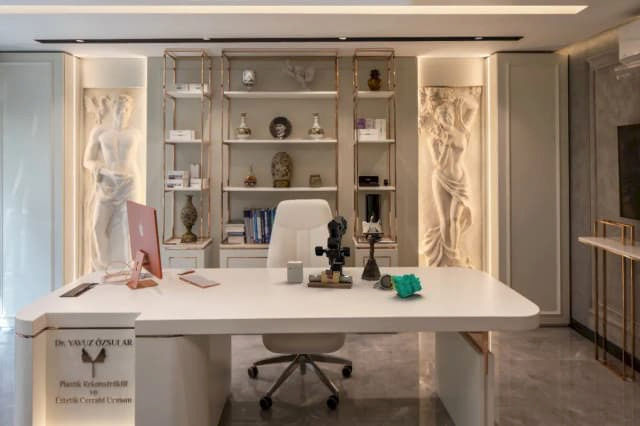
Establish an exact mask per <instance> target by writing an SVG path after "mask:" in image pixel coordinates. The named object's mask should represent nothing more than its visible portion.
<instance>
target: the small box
mask: <svg viewBox="0 0 640 426" xmlns="http://www.w3.org/2000/svg"><path fill="white" fill-rule="evenodd" d="M286 269H287V270H286V273H287V274H286V275H287V276H286V278H287V279H286V280H287V283H303V282H304V261H298V260H295V261H294V260H291V261H289V260H288V262H287V263H286Z"/></svg>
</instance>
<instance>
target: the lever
mask: <svg viewBox="0 0 640 426" xmlns="http://www.w3.org/2000/svg"><path fill="white" fill-rule="evenodd" d="M325 271H326V272H325V273H326V275H327V276H328V280H333V276H332V270H330V269H325Z"/></svg>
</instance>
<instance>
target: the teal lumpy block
mask: <svg viewBox="0 0 640 426" xmlns="http://www.w3.org/2000/svg"><path fill="white" fill-rule="evenodd" d="M391 283H392V286H393V287H392V288H393V289H394V290H395V292H396V293H397V294H399V296H400V297H401V298H402V297H403V298H406V297H409V296H408V295H410V296H411V295H413V294H415V293H417V292H421V291H422V290H423V287H422V285H421V281H420V277H418V276H415V273H410V274H404V275H402V276H401V275H396V274H395V275H394V274H393V275H391Z"/></svg>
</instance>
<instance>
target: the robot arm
mask: <svg viewBox="0 0 640 426" xmlns="http://www.w3.org/2000/svg"><path fill="white" fill-rule="evenodd" d="M348 226H349V224H348V220H347V219H345V217H344V215H335V216H334V218H333V219H331V220H330V221H329V222H328V223H327V231H328V234H329V236H328V237H327V239H326V240H327V241H326V242H327V243H326V247H325V248H324V246H322V245H321V246H320V245H319V246H318V245H316V246H315V247H314V254H315V256H316V257H323V255H324V254H325V257H326V258H327V259H328V265H329V266H330V268H329V270H332V276H333V272H334V271H340V276H345V274H344V273H343V266H345V265H346V258H350V257H351V256H352V255H351V252H352V251H351V247H350V246H343V245H342V244H343V237H344V235H346V234H347V230H348Z"/></svg>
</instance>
